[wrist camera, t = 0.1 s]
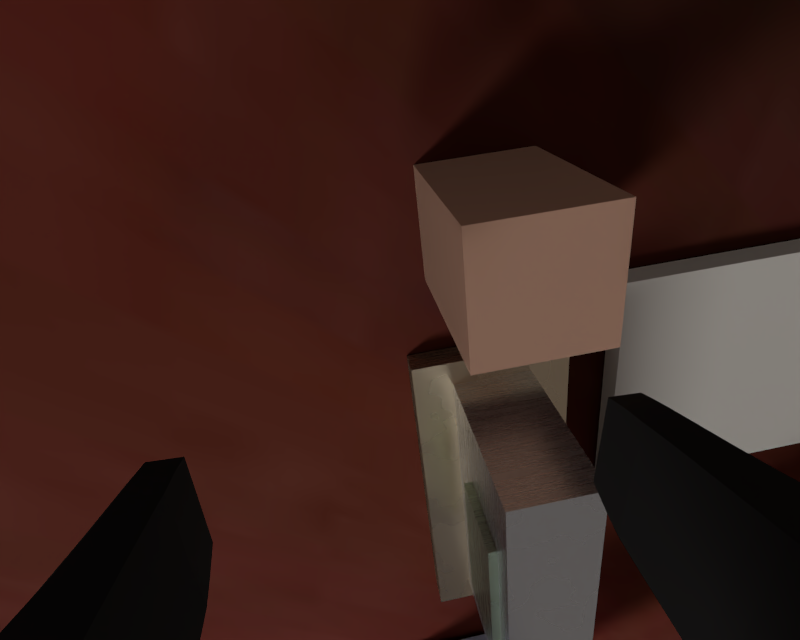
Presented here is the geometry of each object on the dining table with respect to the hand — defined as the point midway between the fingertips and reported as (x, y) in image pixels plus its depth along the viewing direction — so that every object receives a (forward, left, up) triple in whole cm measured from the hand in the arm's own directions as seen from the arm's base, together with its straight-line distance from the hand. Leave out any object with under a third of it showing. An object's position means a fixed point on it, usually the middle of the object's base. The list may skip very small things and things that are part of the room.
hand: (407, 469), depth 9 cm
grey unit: (-11, -4, -10) cm, 16 cm away
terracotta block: (+1, -4, -10) cm, 11 cm away
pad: (-7, -14, -10) cm, 19 cm away
